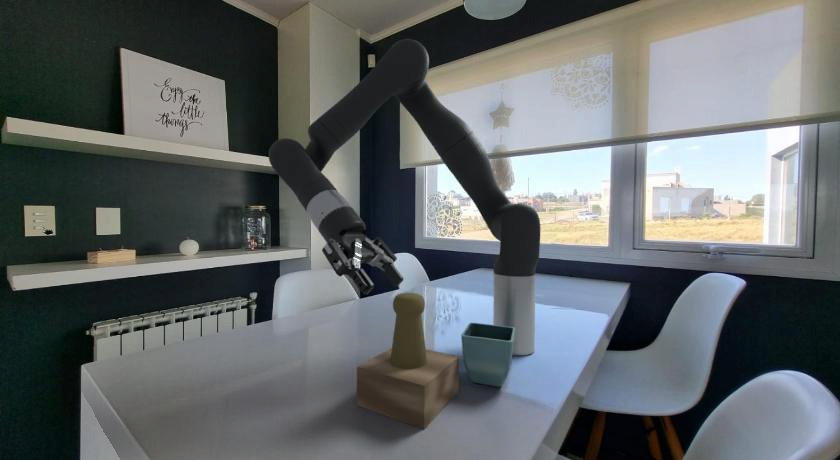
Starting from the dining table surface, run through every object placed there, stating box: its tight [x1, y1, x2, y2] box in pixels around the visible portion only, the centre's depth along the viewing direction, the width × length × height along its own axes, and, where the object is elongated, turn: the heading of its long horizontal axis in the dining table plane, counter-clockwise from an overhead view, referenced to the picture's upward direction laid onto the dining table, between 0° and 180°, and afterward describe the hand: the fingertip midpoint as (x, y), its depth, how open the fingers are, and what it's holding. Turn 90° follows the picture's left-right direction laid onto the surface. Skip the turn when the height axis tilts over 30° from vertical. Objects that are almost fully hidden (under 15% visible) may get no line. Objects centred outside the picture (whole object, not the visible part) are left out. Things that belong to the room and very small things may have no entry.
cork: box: [390, 292, 427, 369], centre depth 53 cm, size 6×6×11 cm
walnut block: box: [356, 347, 460, 430], centre depth 53 cm, size 12×12×6 cm
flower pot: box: [460, 322, 515, 388], centre depth 60 cm, size 9×9×9 cm
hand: (385, 286), depth 56 cm, fingers open, 8 cm apart
